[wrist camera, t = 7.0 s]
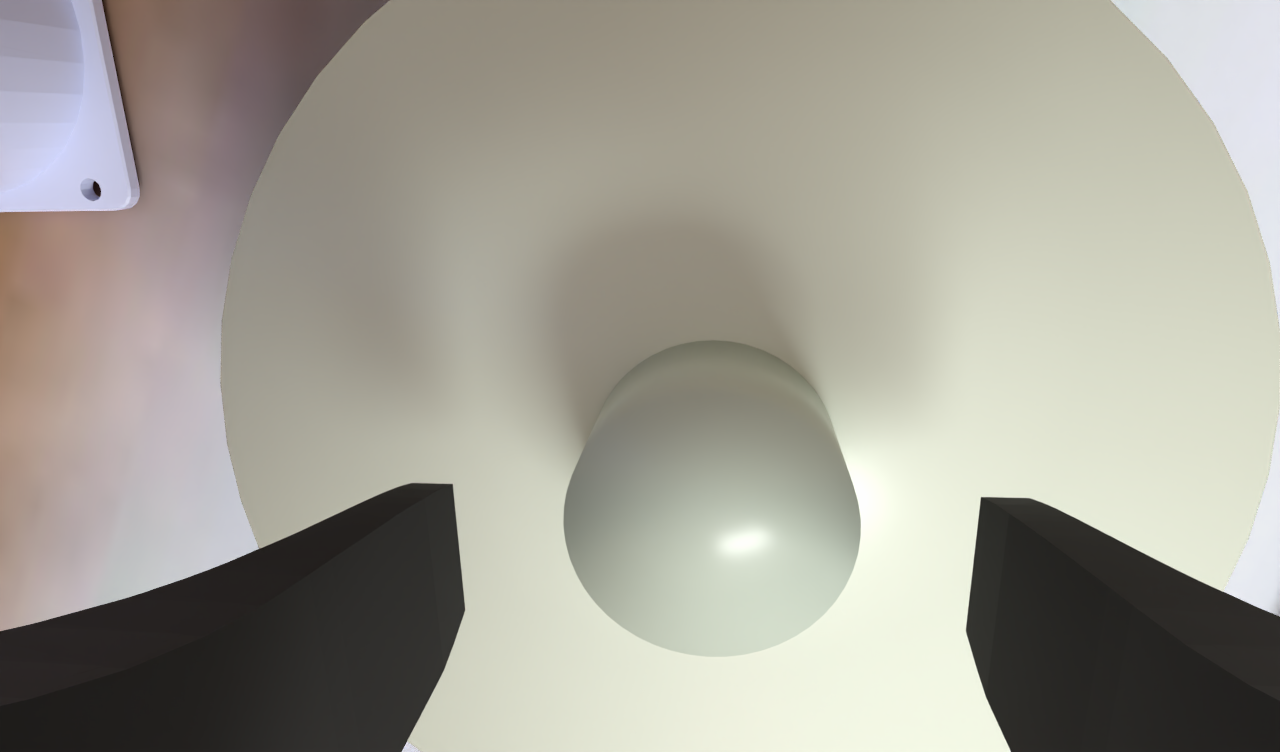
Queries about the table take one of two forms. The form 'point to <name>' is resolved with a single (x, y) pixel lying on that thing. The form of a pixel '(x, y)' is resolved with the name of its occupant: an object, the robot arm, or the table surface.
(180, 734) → the robot arm
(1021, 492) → the lid
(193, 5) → the table surface
